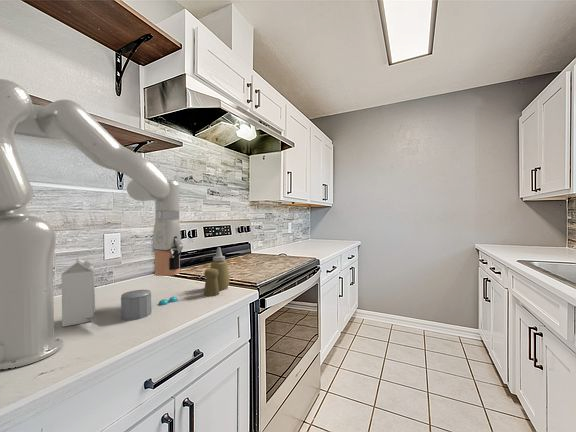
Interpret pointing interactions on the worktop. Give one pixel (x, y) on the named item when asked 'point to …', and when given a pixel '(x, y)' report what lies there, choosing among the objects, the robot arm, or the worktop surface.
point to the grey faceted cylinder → (135, 304)
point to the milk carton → (78, 293)
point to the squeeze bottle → (221, 270)
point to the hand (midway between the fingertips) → (167, 267)
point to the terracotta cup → (164, 264)
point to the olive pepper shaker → (211, 283)
